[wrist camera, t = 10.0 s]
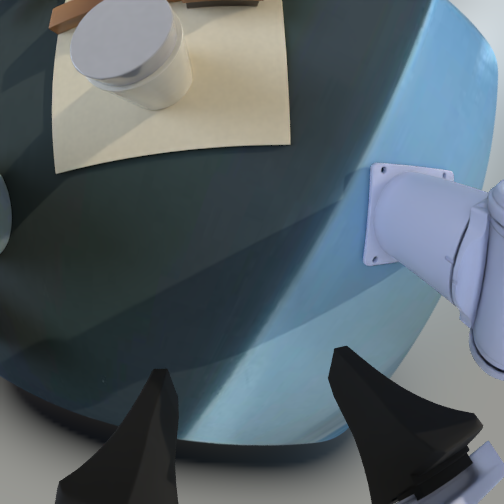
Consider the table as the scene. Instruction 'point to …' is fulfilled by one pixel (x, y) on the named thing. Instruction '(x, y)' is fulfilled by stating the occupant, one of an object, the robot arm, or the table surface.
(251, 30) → the cream square board
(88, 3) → the brush
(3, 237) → the embossed grey planter pot
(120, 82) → the salt shaker
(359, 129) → the table surface
